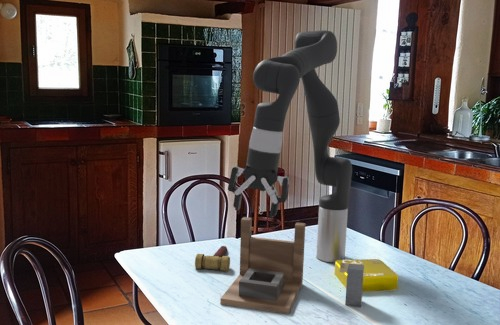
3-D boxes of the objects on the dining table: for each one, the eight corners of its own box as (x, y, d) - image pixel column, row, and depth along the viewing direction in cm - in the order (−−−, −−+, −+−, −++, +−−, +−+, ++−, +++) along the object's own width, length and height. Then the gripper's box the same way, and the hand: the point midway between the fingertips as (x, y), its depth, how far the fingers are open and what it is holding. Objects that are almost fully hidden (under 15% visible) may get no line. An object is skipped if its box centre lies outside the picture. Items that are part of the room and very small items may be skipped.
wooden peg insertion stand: (241, 276, 156) (243, 216, 153) (302, 284, 152) (305, 223, 149) (220, 303, 137) (221, 236, 134) (288, 314, 133) (292, 244, 130)
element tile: (349, 293, 147) (350, 276, 147) (332, 273, 162) (333, 258, 161) (399, 291, 150) (401, 275, 149) (379, 271, 164) (380, 257, 164)
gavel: (211, 239, 180) (240, 241, 179) (210, 252, 181) (239, 255, 179) (194, 255, 160) (227, 258, 158) (194, 270, 160) (226, 273, 159)
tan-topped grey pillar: (339, 297, 143) (341, 262, 141) (361, 301, 142) (364, 265, 140) (337, 304, 139) (339, 267, 138) (360, 307, 138) (363, 270, 136)
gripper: (297, 151, 127) (285, 216, 130) (240, 140, 130) (230, 203, 133) (291, 156, 120) (279, 224, 123) (231, 144, 123) (221, 210, 126)
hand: (254, 213), depth 128 cm, fingers open, 8 cm apart
